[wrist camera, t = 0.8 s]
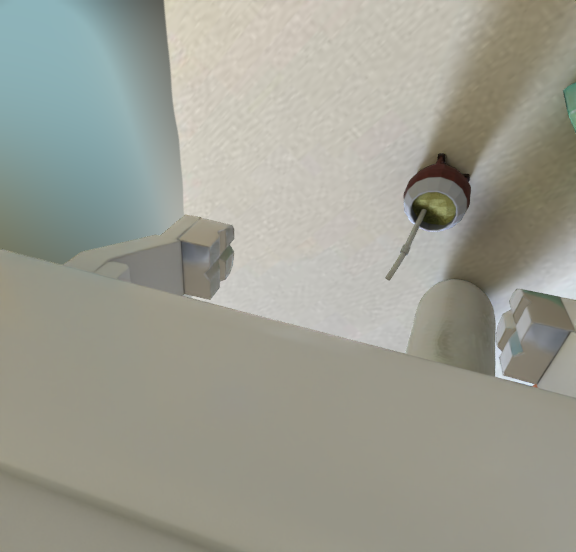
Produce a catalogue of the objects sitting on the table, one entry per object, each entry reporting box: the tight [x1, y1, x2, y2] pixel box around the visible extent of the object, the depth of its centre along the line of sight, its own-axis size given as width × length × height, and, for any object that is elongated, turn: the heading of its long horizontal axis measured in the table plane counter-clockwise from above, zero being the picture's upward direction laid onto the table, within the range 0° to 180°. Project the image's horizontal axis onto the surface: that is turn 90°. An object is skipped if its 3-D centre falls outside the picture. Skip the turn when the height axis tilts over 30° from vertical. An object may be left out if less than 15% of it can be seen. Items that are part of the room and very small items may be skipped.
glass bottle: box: [405, 279, 495, 377], centre depth 51 cm, size 10×10×28 cm
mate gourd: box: [386, 153, 471, 280], centre depth 46 cm, size 8×8×15 cm
